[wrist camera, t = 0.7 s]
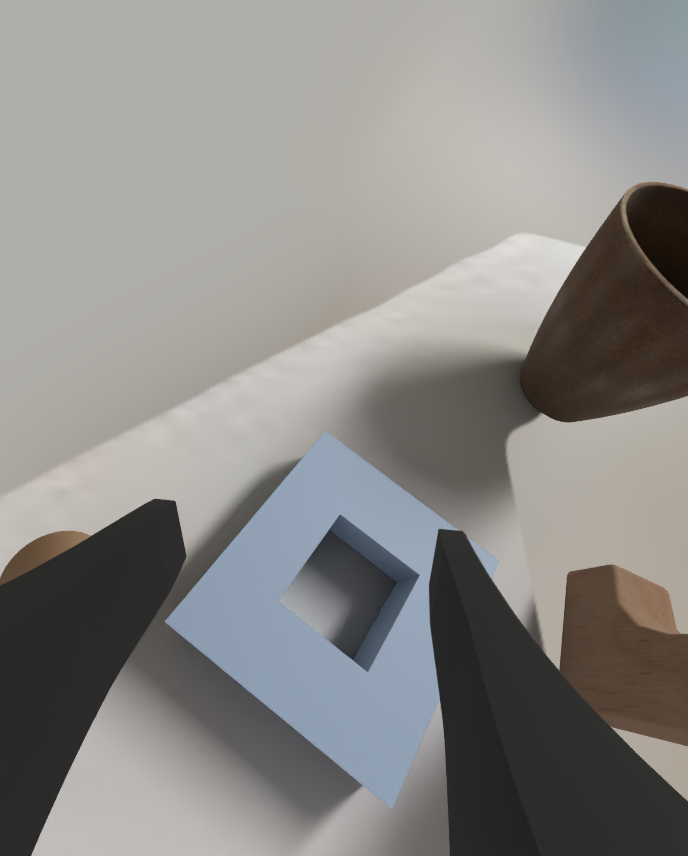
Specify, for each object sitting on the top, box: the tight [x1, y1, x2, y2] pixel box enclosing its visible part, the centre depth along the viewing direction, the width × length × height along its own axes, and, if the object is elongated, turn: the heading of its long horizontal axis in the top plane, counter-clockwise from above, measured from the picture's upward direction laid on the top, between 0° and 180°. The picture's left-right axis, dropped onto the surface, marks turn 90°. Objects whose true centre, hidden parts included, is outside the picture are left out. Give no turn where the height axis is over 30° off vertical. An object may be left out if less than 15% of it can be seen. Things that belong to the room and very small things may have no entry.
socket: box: [165, 431, 499, 809], centre depth 25 cm, size 14×14×4 cm
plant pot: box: [521, 182, 688, 422], centre depth 33 cm, size 15×15×16 cm
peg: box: [0, 531, 90, 585], centre depth 20 cm, size 4×4×8 cm
